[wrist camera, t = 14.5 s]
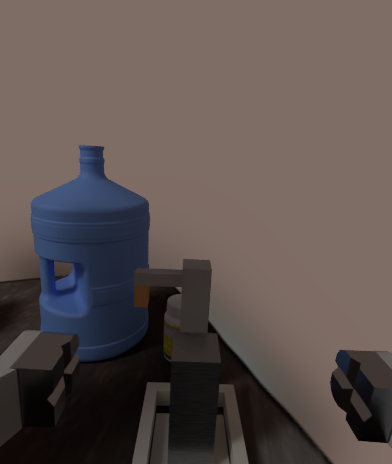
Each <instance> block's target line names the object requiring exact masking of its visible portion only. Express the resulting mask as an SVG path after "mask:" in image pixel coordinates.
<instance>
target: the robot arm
mask: <svg viewBox="0 0 392 464" xmlns="http://www.w3.org/2000/svg"><path fill="white" fill-rule="evenodd" d="M78 348H79V336H78V335H77V334H73V333H61V332H49V331H44V332H43V331H34V330H27V331H24V332H22V333H21V334H20V335H19V337H18V338H17V339H16V340H15V341H14V342H13V343H12V344H11V345H10V346H9V347H8V348H7V349H6V351H5V352H4V353H3V354H2V355H1V356H0V446H2V445H3V444H4V443H5V442H6V441H8V440H9V439H10V438H11V437H12V436H14V435H15V434H16V433H17V432H18V431H20V430H21V429H22V426H31V427H55V426H56V424H57V422H58V420H59V418H60V416H61V414H62V412H63V410H64V408H65V406H66V396H68V395H69V394H71V393H72V392H73V389H74V387H75V385H76V382H77V379H78V375H79V368H80V358H79V357H78V356H77V354H76V351H77V349H78ZM335 361H336V363H337V365H338V368H337V369H336V370H335V371H333V372H332V376H331V381H330V383H331V391H332V395H333V397H334V400H335V402H336V403H337V405H338V406H339V407H340V408H341V409H343V410H344V411H345V412H346V413H347V415H346V421H347V422H348V424H349V426H350V428H351V429H352V431H353V433H354V434H355V436H356V438H357V439H358V441H369V442H381V443H389V446H390V447H391V448H392V353H390V352H387V351H353V350H340V351H339V352H338V353H337V356H336V360H335Z"/></svg>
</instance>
